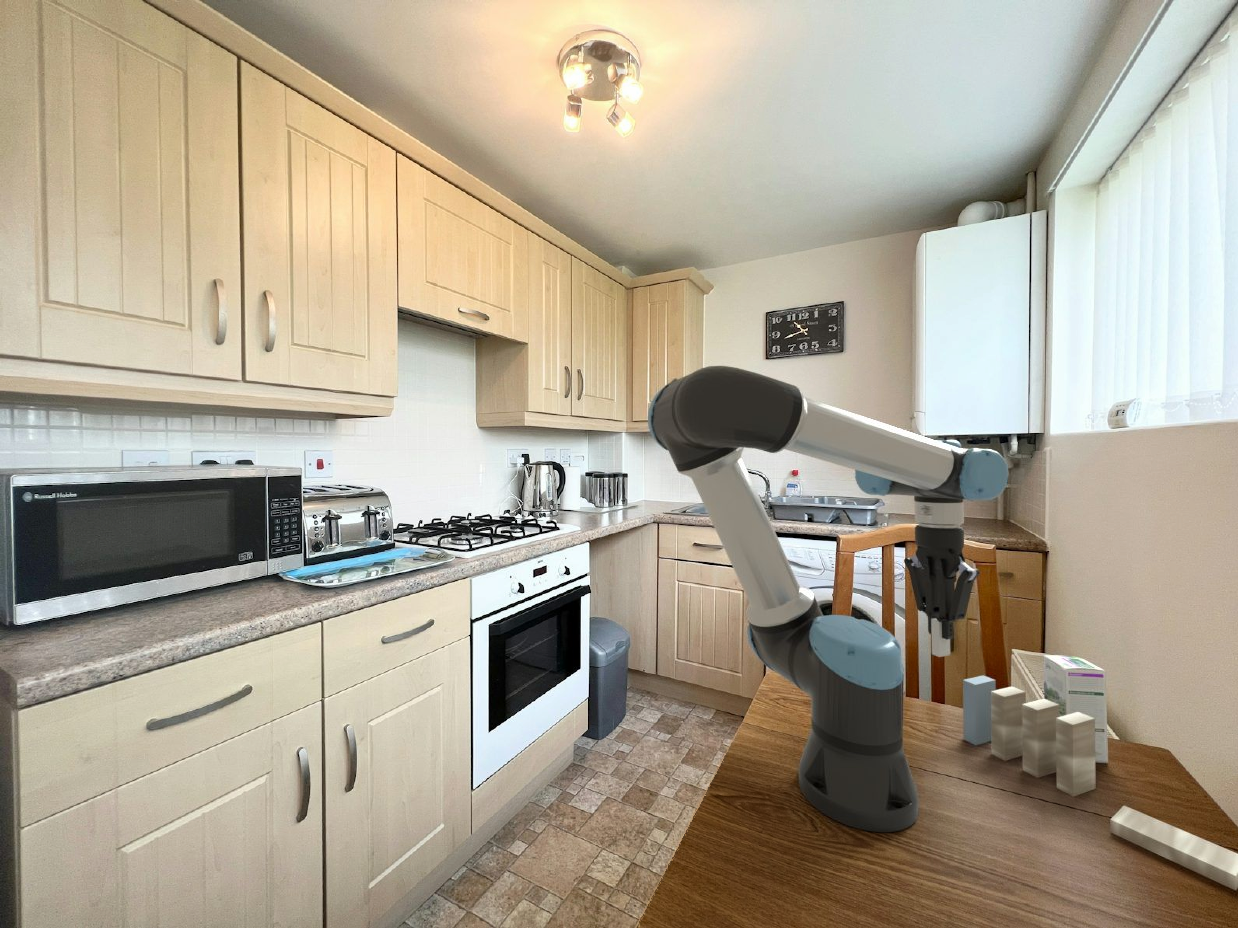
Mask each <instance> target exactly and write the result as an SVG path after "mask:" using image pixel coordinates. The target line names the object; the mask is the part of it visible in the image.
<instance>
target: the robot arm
mask: <svg viewBox="0 0 1238 928" xmlns="http://www.w3.org/2000/svg"><path fill="white" fill-rule="evenodd" d="M647 412H648V413H647V425H648V429H649V432H650V434H651V436H652V438H653V440H654V442H656V444H658V445H659V446H660V447H661V448H662V449H664V450H665V451H668V453H669V455H670V458H671V460H672V462H673V464H674V465H675V468H676V471H677V473H679V474H681V475H684V476H686V477H688V478H690V479H692V482H693V484H694V486H695V489H696V491H697V493H698V494H699V497H700V499H701V501H702V503H703V506H704V508H705V510H706V512H707V514H708V516H709V519H710V521H711V523H712V526H713V527H714V529H715V532H716V534H717V536H718V539H719V540H720V542H721V544H722V546H723V549H724V551H725V553H726V555H727V557H728V560H729V562H730V564H731V566H732V567H733V570H734V572H735V574H736V577H737V578H738V579H737V580H738V581H739V583H740V585H741V587H742V590H743V592H744V594H745V596H746V598H747V600H748V604H747V607H746V611H745V617H746V619H747V621H748V626H747V631H746V633H747V639H748V642H749V643H748V644H749V645H750V648H751V650H752V651H753V653H754V655H756V656H757V658H758V659H759V660H760V661H761V663H762V664H764V665H765V666H766V667H767V668H768V669H770V670H771V671H773V672H775V673H776V674H778V675H779V676H780V677H783V678H784V679H786V680H787V682H790V684H792V685H794V686H795V687H797V689H800V690H801V691H802V692H804V693H805V694H806V695H807V696H809V697H810V708H811V709H810V711H811V712H810V716H811V719H810V720H811V721H810V722H811V724H810V725H811V729H810V733H809V736H808V738H807V741H806V742H805V743H806V744H805V746H804V750H803V751H802V755H801V758H800V761H799V765H798V785H799V789H800V791H801V792H802V795H803V796H804V798H805V799H806V800H807V801H808V802H809V804H810V805H812V806H813V807H814V808H815V809H816V810H818V812H820V813H822V814H823V815H825V816H827V817H829V818H830V819H832V820H834V821H836V822H839V823H841V824H842V825H846V826H849V827H852V828H854V829H859V830H863V831H868V832H874V833H875V832H876V833H893V832H894V833H895V832H898V831H902V830H905V829H907V828H909V827H911V826H913V824H914V823H915V822H916V821H917V819H918V816H919V793H918V789H917V786H916V783H915V780H914V777H913V774H912V771H911V768H910V765H909V762H908V760H907V757H906V754H905V751H904V739H903V738H904V734H903V733H904V732H903V731H904V676H905V667H904V664H903V657H902V655H903V654H902V649H901V645H900V643H899V641H898V640H897V638H896V637H895V636H894V635H893V634H892V633H891V632H890V631H888V630H887V629H886V628H884V627H883V626H880V625H878V624H876V623H874V622H872V621H870V620H866V619H862V618H861V619H858V618H855V616H849V615H844V614H829V615H828V614H827V615H824V614H823V612H822V610H821V607H820V605H819V603H818V601H817V599H816V597H815V595H814V592H813V590H812V589H811V588H809V587H808V586H805V585H803V584H802V585H801V584H799V582H798V580H797V577H796V575H795V573H794V571H793V569H792V566H791V565H790V563H789V560H788V558H787V555H786V553H785V551H784V548H783V546H782V544H781V541H780V540H779V537H778V535H777V533H776V530H775V529H774V527H773V525H772V522H771V519H770V517H769V516H768V513H767V511H766V509H765V506H764V504H763V502H762V500H761V497H760V495H759V494H758V491H757V489H756V486H755V484H754V482H753V480H752V478H751V475H750V473H749V471H748V468H747V467H746V464H745V462H744V460H743V458H742V453H743V451H744V449H745V448H746V449H756V450H759V451H763V452H767V453H770V454H777V453H780V452H782V451H783V450H787V451H789V452H793V453H796V454H799V455H800V454H801V455H803V456H807V457H810V458H815V459H817V460H821V461H824V462H827V463H831V464H835V465H838V466H841V467H845V468H847V469H852V470H854V472H855V473H854V475H855V476H854V479H855V482H856V484H857V487H858V488H859V489H860V490H861V491H862V492H863V493H865V494H866V495H870V496H873V495H874V496H882V497H885V496H887V495H892V496H893V495H895V496H896V495H897V496H908V497H909V496H910V497H911V496H912V497H914V499H913V501H914V521H915V523H917V524H916V525H915V526H914V543H915V544H916V546H917V548H916V550H915V555H912V556H911V557H905V558H904V559H903V563H904V565H905V566H906V568H907V570H908V572H909V578H910V582H911V586H912V591H913V596H914V601H915V604H916V609H917V610H918V611H919V612H922V613H924V614H925V615H926V617H927V631H928V634H929V635H931V654H932V655H933V656H936V657H938V658H942V657H946V656H951V640H952V639H954V637H955V635H954V629H955V628H954V622H955V621H960V620H964V619H966V616H967V615H966V614H967V612H968V608H969V607H968V606H969V602H970V598H971V594H972V590H973V586H974V583H975V582H974V581H976V579H977V578H978V577H979V576H980V573H981V572H980V570H979V569H978V568H972V567H971V566H969V564H967V563H966V557H965V556H964V554H963V549H964V546H965V529H964V528H963V527H962V526H961V525H963V524H964V523H965V513H964V500H966V501H970V502H973V501H991V500H993V499H996V498H998V497H999V496H1000V495H1001V494H1002V493H1003V492H1004V491H1005V490H1006V488H1007V486H1008V485H1007V484H1008V479H1009V476H1010V475H1009V467H1008V463H1007V462H1006V459H1005V458H1004V457H1003V455H1001V453H999V452H998V451H996V450H994V449H990V448H979V447H971V448H962V444H961V443H960V442H959V441H958V440H956V439H945V440H942V439H941V440H939V439H937V440H934V439H932V438H928V437H925V436H923V435H918V434H916V433H913V432H910V431H907V430H903V429H901V428H897V427H895V426H892V425H889V424H886V423H883V422H880V421H877V420H874V419H871V418H869V417H868V418H867V417H866V416H862V415H860V414H855V413H853V412H850V411H847V410H844V409H842V408H837V407H835V406H832V405H830V404H826V403H823V402H821V401H817V400H815V399H812V398H808V397H805V396H804V393H803V392H802V390H801V388H800V387H798V386H796V385H794V384H791V383H789V382H788V383H787V382H786V381H785V382H784V381H782V380H779V379H776V378H773V377H771V376H766V375H763V374H761V373H757V372H754V371H750V370H746V369H743V368H738V367H735V366H728V365H709V366H705V367H702V368H701V367H700V369H697V370H695V371H693V372H691V373H689V374H687V375H685V376H682V377H680V378H678V379H674V380H672V381H670V382H668V383H667V384H666V385H665V386H664V387H662V388H661V389H660V390H659V391H658V392H657V393H656V394H655V395H654V397H653V398H652V400H651V403H650V405H649V408H648V411H647ZM957 575H958V578H957Z"/></svg>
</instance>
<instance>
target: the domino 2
mask: <svg viewBox="0 0 1238 928" xmlns="http://www.w3.org/2000/svg"><path fill="white" fill-rule="evenodd" d="M1026 697H1027V696H1026V691H1025V690H1023V689H1019V688H1017V687H1016V686H1008V687H1003V688H999V689H996V690H995V691H991V741H990V742H991V745H990V746H991V748H990V750H991V755H993V756H995V757H996V758H999V759H1000V760H1002V761H1008V760H1012V759H1015V758H1018V757H1023V717H1022V704H1025V703H1027V702H1026V701H1027V698H1026Z"/></svg>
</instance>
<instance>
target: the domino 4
mask: <svg viewBox="0 0 1238 928" xmlns="http://www.w3.org/2000/svg"><path fill="white" fill-rule="evenodd" d="M1056 765H1057V772H1056V788H1057V789H1058V790H1059V791H1062V792H1063V793H1066V794H1067V795H1069V796H1071V797H1074V798H1075V797H1076V796H1079V795H1081V794H1084V793H1086V792H1087V793H1088V792H1090V791H1093V790H1094V789H1096V762H1095V718H1093V717H1090V716H1088V715H1085V714H1082V713H1080V712H1076V713H1072V714H1068V715H1065V716H1061V717H1058V718H1056Z"/></svg>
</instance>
